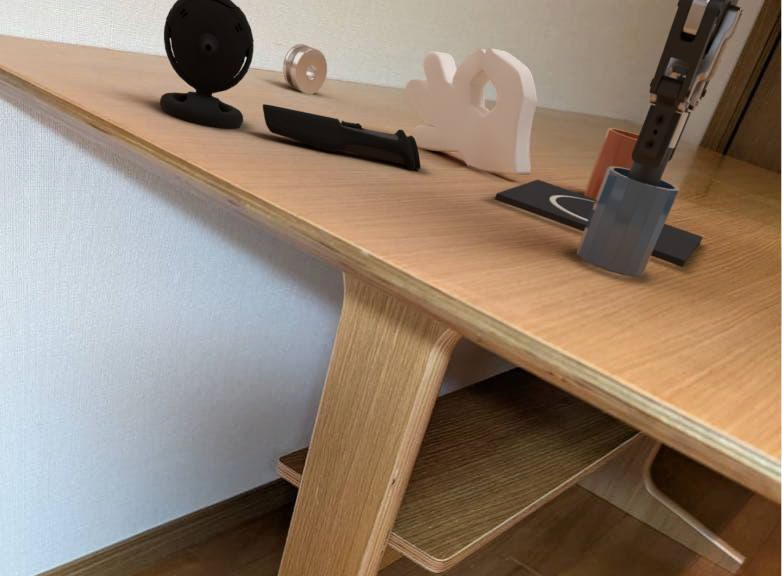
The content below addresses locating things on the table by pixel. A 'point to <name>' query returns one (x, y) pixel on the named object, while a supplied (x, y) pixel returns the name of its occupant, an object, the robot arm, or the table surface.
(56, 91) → the table surface
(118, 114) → the table surface
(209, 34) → the webcam
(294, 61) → the metal grooved wheel
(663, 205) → the pen cup
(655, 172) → the rod
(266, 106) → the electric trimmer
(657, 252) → the drawing pad
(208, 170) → the table surface
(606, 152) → the pen pot
